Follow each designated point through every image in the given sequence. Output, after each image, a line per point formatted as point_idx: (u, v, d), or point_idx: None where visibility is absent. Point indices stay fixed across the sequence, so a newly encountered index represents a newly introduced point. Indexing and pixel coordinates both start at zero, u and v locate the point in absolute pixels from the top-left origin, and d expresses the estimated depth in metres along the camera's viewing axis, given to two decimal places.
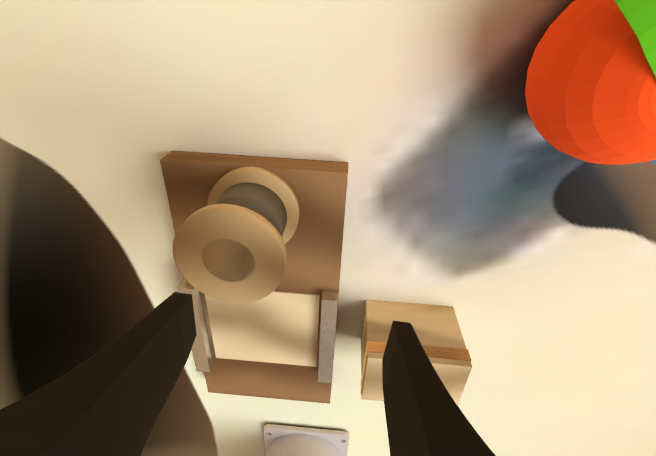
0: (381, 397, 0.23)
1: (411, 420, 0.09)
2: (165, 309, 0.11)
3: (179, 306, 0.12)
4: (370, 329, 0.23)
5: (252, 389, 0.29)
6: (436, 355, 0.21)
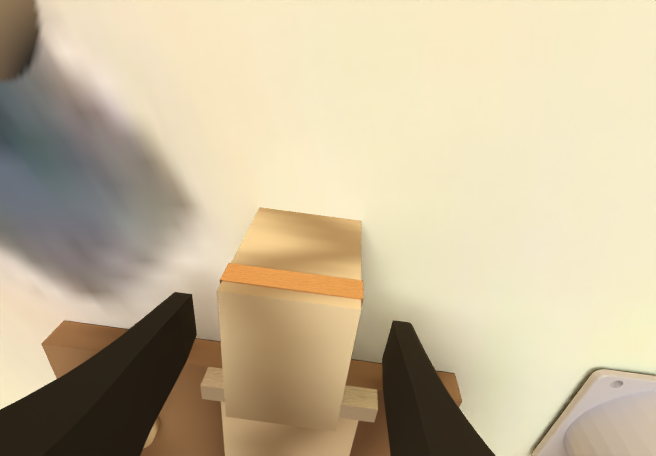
0: (330, 410, 0.12)
1: (411, 420, 0.09)
2: (165, 309, 0.11)
3: (179, 306, 0.12)
4: None
5: None
6: None
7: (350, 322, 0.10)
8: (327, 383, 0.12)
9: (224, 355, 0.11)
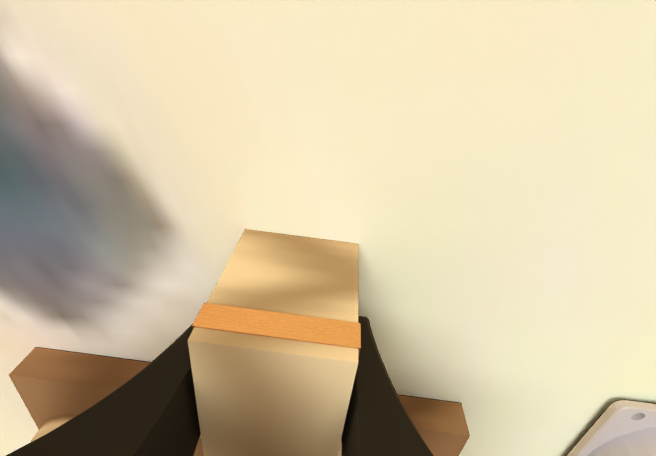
0: None
1: (353, 412, 0.09)
2: None
3: None
4: None
5: None
6: None
7: (345, 375, 0.09)
8: (320, 438, 0.10)
9: (200, 408, 0.10)
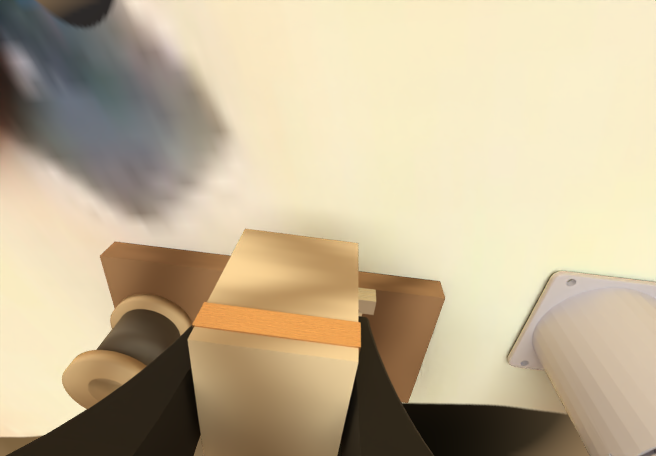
0: None
1: (353, 412, 0.09)
2: None
3: None
4: None
5: (406, 367, 0.24)
6: None
7: (345, 375, 0.09)
8: (320, 437, 0.10)
9: (200, 407, 0.10)
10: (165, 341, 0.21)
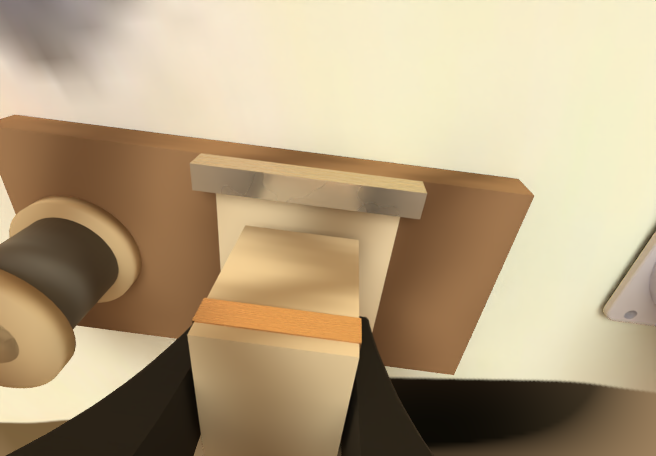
0: None
1: (353, 412, 0.09)
2: None
3: None
4: None
5: (457, 319, 0.16)
6: None
7: (346, 370, 0.09)
8: (320, 434, 0.10)
9: (200, 404, 0.10)
10: (87, 265, 0.13)
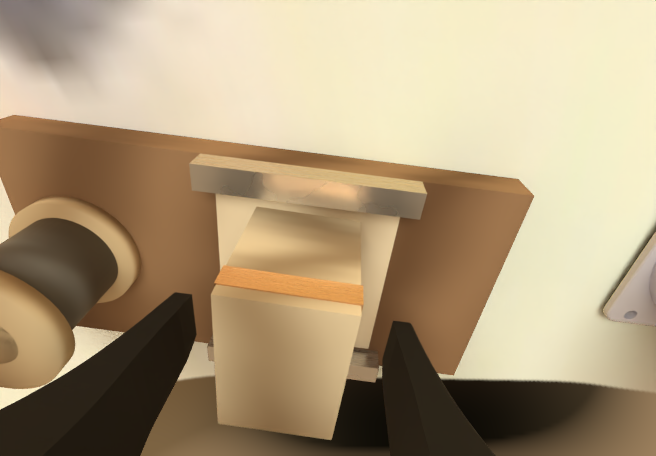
0: (326, 417, 0.12)
1: (411, 420, 0.09)
2: (165, 309, 0.11)
3: (179, 306, 0.12)
4: None
5: (457, 319, 0.16)
6: None
7: (349, 328, 0.10)
8: (324, 391, 0.11)
9: (217, 361, 0.11)
10: (86, 265, 0.13)
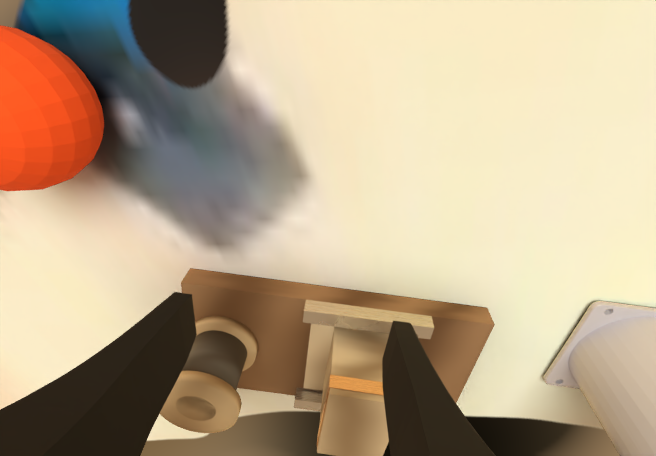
0: (378, 450, 0.22)
1: (411, 420, 0.09)
2: (165, 309, 0.11)
3: (179, 306, 0.12)
4: (320, 417, 0.24)
5: (451, 384, 0.26)
6: (325, 405, 0.21)
7: None
8: (379, 437, 0.21)
9: (325, 422, 0.21)
10: (238, 360, 0.23)
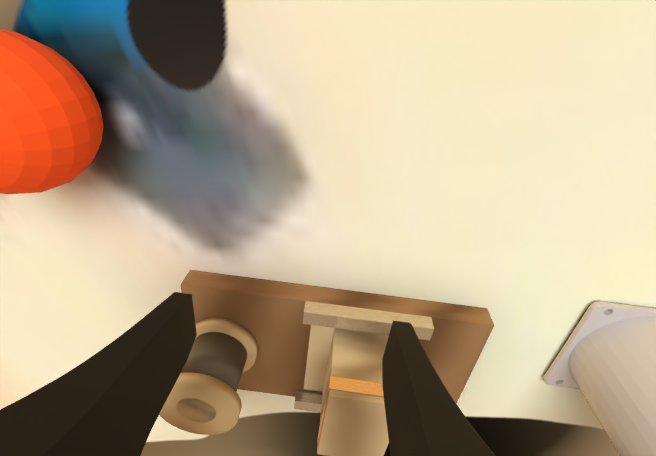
0: (379, 451, 0.22)
1: (411, 420, 0.09)
2: (165, 309, 0.11)
3: (179, 306, 0.12)
4: (320, 418, 0.24)
5: (451, 385, 0.26)
6: (325, 407, 0.21)
7: None
8: (379, 438, 0.21)
9: (325, 424, 0.21)
10: (238, 362, 0.23)
